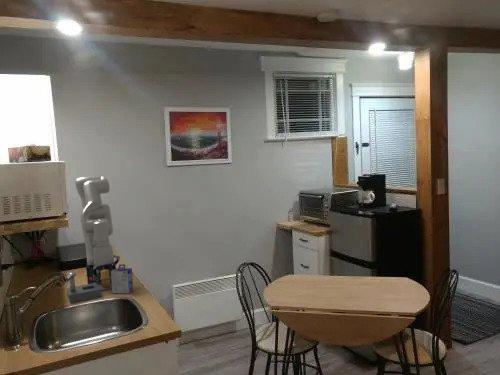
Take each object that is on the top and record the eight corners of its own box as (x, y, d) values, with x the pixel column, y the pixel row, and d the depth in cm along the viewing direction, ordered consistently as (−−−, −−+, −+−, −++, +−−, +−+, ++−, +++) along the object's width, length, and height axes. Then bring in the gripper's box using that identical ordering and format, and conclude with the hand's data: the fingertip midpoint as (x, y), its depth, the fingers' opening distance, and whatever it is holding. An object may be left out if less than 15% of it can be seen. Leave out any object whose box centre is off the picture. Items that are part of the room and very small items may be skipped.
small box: (87, 285, 250) (85, 265, 249) (91, 282, 257) (89, 261, 256) (110, 284, 250) (108, 263, 249) (114, 280, 257) (112, 260, 256)
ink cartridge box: (134, 290, 237) (132, 263, 236) (129, 293, 232) (127, 266, 231) (117, 290, 239) (115, 263, 238) (112, 293, 234) (109, 266, 233)
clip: (68, 275, 230) (67, 270, 230) (76, 274, 231) (76, 269, 231) (61, 283, 216) (61, 279, 215) (70, 282, 216) (69, 278, 216)
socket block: (67, 295, 235) (65, 274, 234) (96, 289, 242) (94, 269, 241) (70, 303, 223) (67, 280, 222) (101, 296, 229) (99, 275, 228)
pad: (96, 287, 246) (96, 286, 246) (113, 284, 250) (113, 283, 250) (99, 291, 238) (99, 290, 238) (116, 288, 242) (116, 287, 242)
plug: (102, 288, 241) (100, 272, 240) (100, 286, 245) (99, 270, 244) (111, 287, 243) (110, 271, 242) (110, 284, 248) (108, 268, 247)
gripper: (86, 247, 234) (89, 278, 236) (119, 242, 242) (122, 272, 244) (84, 244, 241) (87, 275, 243) (117, 240, 249) (119, 269, 251)
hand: (105, 274), depth 243 cm, fingers open, 9 cm apart
